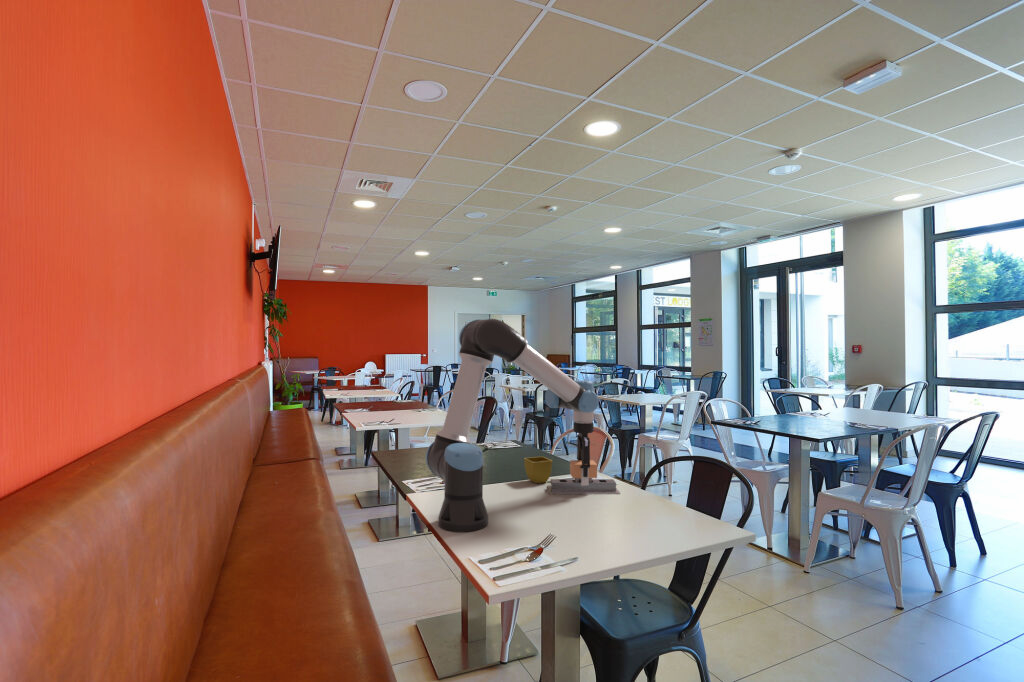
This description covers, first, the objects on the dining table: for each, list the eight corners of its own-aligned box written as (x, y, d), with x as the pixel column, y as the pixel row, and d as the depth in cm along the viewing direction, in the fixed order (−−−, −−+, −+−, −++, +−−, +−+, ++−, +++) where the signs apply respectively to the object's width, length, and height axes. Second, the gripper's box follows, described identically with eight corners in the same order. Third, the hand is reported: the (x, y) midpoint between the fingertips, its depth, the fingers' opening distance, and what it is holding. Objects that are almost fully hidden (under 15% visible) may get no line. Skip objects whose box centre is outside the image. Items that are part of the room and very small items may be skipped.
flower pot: (523, 480, 209) (523, 457, 209) (542, 477, 213) (542, 456, 213) (533, 485, 201) (533, 462, 201) (552, 483, 205) (553, 460, 205)
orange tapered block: (593, 482, 200) (593, 460, 200) (596, 487, 193) (597, 464, 193) (569, 482, 199) (570, 460, 199) (572, 487, 192) (572, 464, 192)
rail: (620, 493, 191) (620, 484, 191) (550, 493, 190) (550, 484, 190) (613, 486, 201) (614, 477, 201) (547, 486, 200) (547, 477, 200)
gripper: (598, 425, 186) (598, 489, 186) (588, 417, 206) (588, 475, 206) (577, 425, 186) (577, 490, 186) (569, 417, 206) (569, 475, 206)
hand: (583, 482), depth 196 cm, fingers closed on orange tapered block, 7 cm apart
